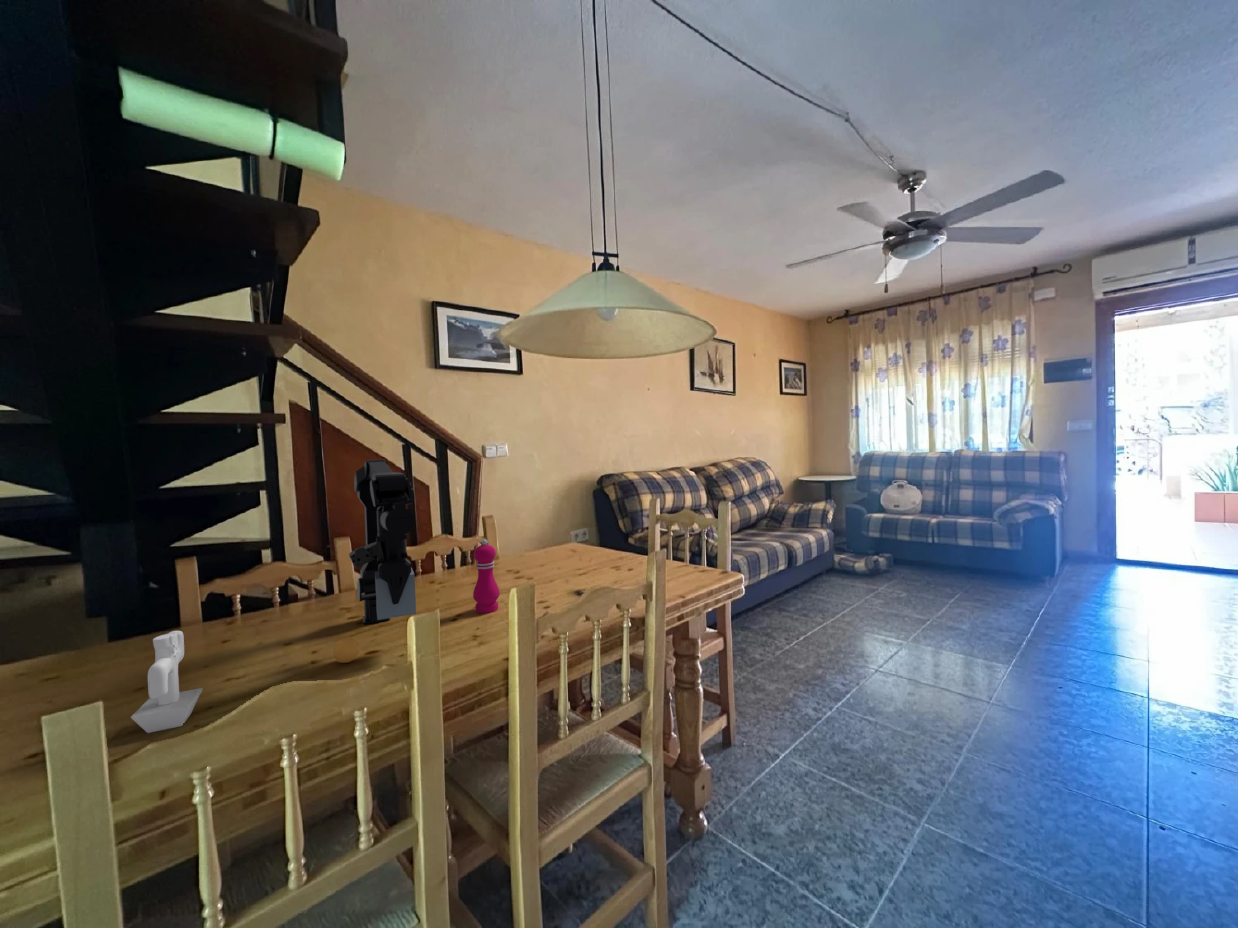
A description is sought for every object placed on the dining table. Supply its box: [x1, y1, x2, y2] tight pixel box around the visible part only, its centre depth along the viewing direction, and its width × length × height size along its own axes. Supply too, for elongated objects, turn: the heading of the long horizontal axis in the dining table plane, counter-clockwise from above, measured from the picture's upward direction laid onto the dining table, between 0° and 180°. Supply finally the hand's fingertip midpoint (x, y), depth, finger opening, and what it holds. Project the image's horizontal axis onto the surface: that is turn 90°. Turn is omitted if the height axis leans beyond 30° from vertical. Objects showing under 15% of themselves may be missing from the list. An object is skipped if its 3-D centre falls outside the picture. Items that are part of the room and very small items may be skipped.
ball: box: [332, 637, 360, 664], centre depth 107 cm, size 5×5×5 cm
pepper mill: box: [472, 538, 500, 614], centre depth 140 cm, size 7×7×20 cm
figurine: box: [130, 630, 204, 734], centre depth 83 cm, size 7×9×15 cm
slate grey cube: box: [375, 567, 417, 620], centre depth 111 cm, size 8×8×9 cm
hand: (394, 599), depth 111 cm, fingers closed on slate grey cube, 8 cm apart
